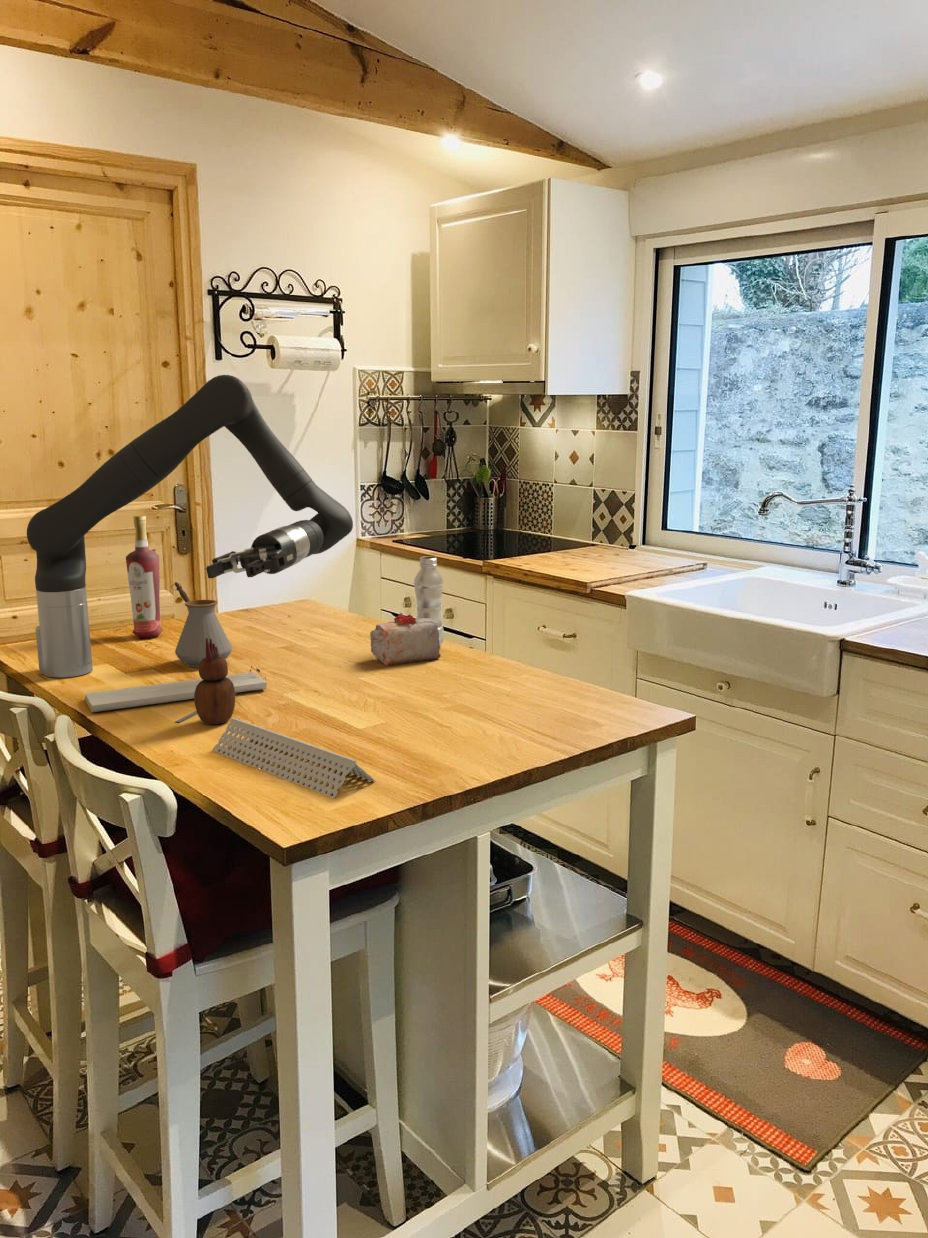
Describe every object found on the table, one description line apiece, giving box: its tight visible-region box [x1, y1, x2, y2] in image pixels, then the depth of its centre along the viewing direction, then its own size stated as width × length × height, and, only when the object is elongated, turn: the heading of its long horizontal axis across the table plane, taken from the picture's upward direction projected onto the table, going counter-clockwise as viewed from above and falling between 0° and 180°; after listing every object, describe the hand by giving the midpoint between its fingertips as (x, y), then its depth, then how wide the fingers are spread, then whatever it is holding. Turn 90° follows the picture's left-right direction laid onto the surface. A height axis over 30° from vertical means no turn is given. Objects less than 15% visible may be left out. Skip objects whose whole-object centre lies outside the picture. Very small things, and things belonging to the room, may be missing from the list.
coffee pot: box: [170, 581, 233, 668], centre depth 211 cm, size 21×12×15 cm, turn 34°
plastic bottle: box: [413, 555, 445, 646], centre depth 219 cm, size 6×7×20 cm
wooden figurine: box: [193, 638, 236, 726], centre depth 168 cm, size 7×6×15 cm
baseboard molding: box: [84, 665, 268, 713], centre depth 185 cm, size 31×3×12 cm
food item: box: [369, 612, 441, 666], centre depth 209 cm, size 14×8×10 cm, turn 117°
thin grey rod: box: [175, 693, 238, 723], centre depth 177 cm, size 1×19×1 cm, turn 161°
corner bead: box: [212, 717, 377, 799], centre depth 148 cm, size 29×9×5 cm, turn 48°
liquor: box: [125, 515, 164, 640], centre depth 229 cm, size 7×7×28 cm
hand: (228, 572), depth 173 cm, fingers open, 8 cm apart
